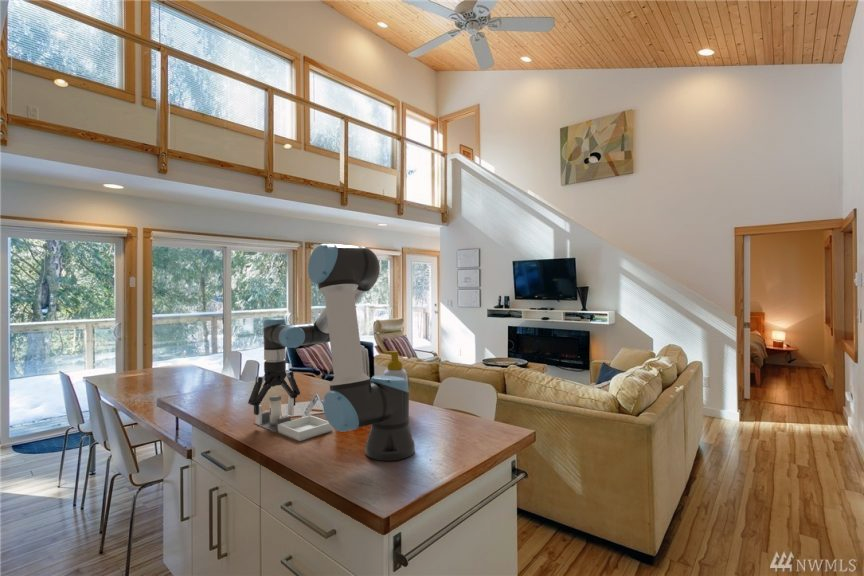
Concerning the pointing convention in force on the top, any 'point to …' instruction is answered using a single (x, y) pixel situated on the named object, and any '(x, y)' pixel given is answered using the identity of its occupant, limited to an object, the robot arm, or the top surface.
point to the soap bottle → (394, 366)
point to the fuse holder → (267, 418)
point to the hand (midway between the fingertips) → (275, 419)
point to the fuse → (274, 409)
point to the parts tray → (304, 428)
